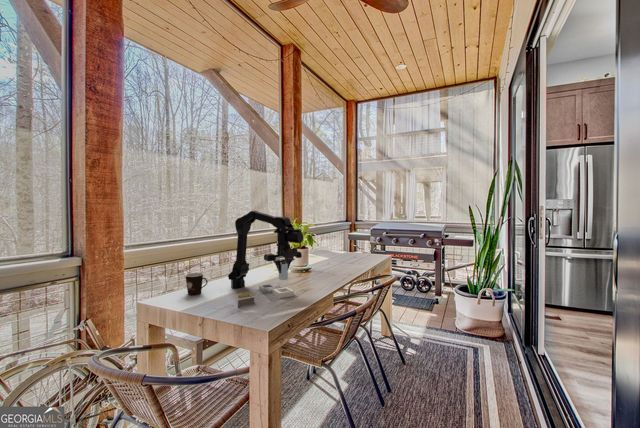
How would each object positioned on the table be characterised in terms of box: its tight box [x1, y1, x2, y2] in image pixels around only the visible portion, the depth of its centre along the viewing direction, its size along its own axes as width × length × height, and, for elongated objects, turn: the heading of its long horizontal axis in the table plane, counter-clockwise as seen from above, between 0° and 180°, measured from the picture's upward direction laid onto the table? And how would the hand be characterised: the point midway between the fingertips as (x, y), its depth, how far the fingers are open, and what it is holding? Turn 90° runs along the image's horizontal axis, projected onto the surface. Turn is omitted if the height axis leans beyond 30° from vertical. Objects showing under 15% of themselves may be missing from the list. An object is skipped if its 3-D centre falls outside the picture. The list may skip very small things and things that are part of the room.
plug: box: [278, 258, 289, 281], centre depth 153 cm, size 3×3×10 cm
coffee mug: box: [184, 272, 209, 297], centre depth 158 cm, size 12×9×10 cm
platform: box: [235, 291, 258, 309], centre depth 141 cm, size 12×18×7 cm, turn 126°
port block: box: [273, 286, 295, 298], centre depth 154 cm, size 8×8×3 cm
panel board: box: [255, 285, 299, 302], centre depth 157 cm, size 14×22×1 cm, turn 33°
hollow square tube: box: [258, 283, 276, 293], centre depth 160 cm, size 6×6×2 cm
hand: (283, 272), depth 154 cm, fingers closed on plug, 3 cm apart
